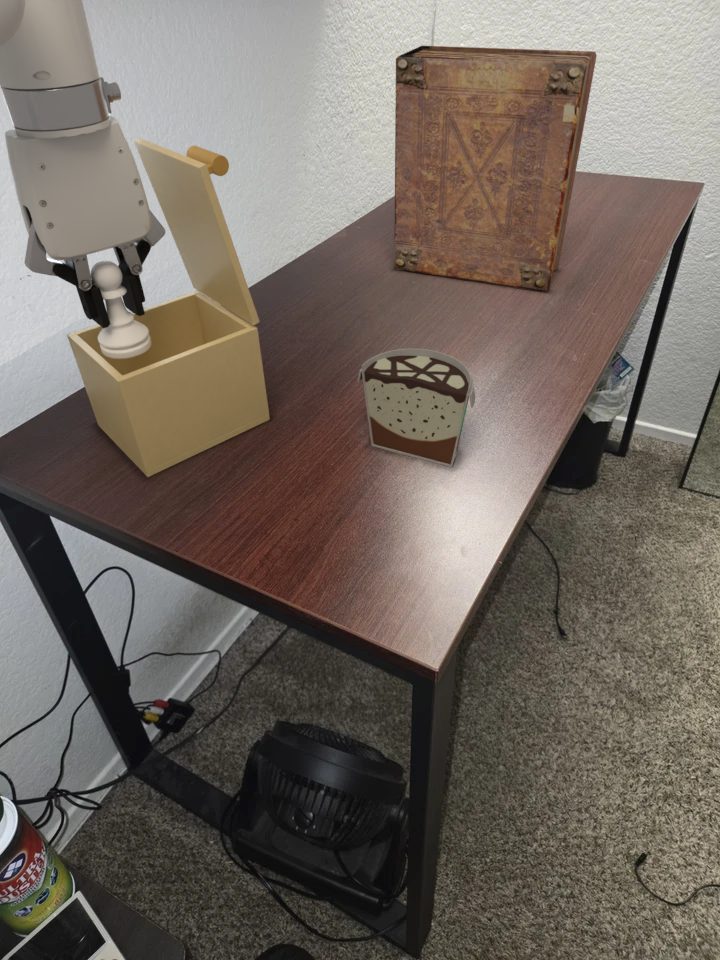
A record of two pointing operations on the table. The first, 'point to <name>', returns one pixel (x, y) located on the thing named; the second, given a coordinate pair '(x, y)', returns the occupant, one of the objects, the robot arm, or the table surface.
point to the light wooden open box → (176, 382)
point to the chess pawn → (118, 316)
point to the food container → (417, 402)
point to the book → (487, 160)
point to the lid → (199, 222)
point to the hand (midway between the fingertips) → (117, 315)
